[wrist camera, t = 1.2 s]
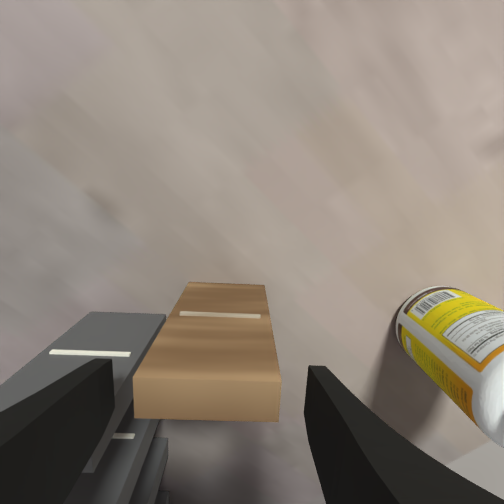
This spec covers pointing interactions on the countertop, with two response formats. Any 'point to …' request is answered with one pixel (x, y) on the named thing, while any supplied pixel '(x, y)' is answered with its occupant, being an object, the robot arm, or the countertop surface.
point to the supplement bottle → (459, 351)
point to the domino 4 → (162, 497)
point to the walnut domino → (212, 359)
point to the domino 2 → (117, 464)
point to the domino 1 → (84, 350)
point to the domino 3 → (151, 473)
